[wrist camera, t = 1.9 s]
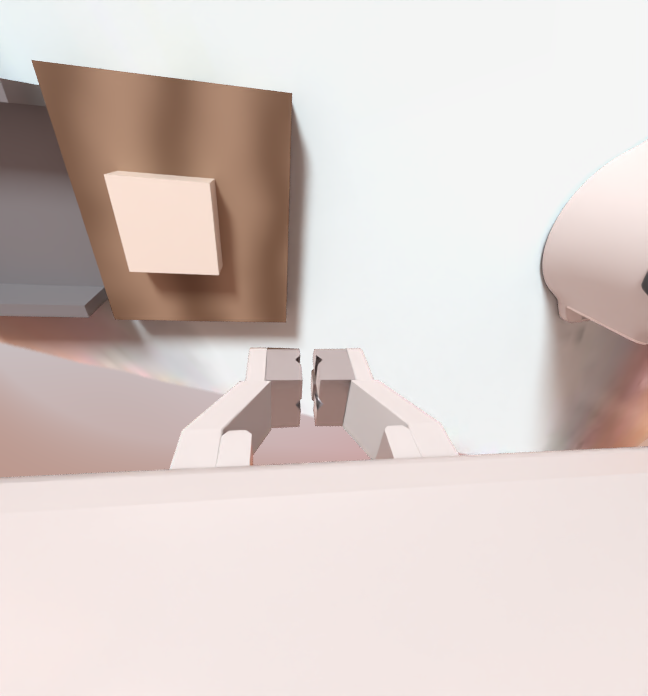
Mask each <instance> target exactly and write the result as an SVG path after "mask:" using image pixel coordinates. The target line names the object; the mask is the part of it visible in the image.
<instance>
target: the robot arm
mask: <svg viewBox="0 0 648 696" xmlns="http://www.w3.org/2000/svg"><path fill="white" fill-rule="evenodd" d="M542 269H543V276H544V280H545V282H546V284H547V286H548V288H549V289H550V290H551V291H552V293H553V294H554V295H555V296H556V298H557V300H558V310H559V315H560V317H561V318H562V319H564V320H566V321H568V322H570V323H575V322H582V321H588V320H592V321H594V322H596V323H598V324H600V325H602V326H604V327H605V328H607V329H609V330H611V331H613V332H615V333H617V334H619V335H621V336H623V337H625V338H627V339H629V340H631V341H633V342H635V343H638V344H642V345H647V344H648V139H647V140H646V141H644V142H643V143H641V144H640V145H638V146H636V147H634V148H632V149H631V150H629V151H627V152H625V153H623V154H621V155H620V156H618V157H616V158H615V159H613V160H612V161H610V162H609V163H607V164H606V165H605V166H603V167H602V168H601V169H599V170H598V171H597V172H596V173H595V174H593V175H592V176H591V177H590V178H589V179H588V180H587V181H586V182H585V183H584V184H583V185H582V186H581V187H580V188H579V189H578V190H577V191H576V193H575V194H574V195H573V196H572V197H571V199H570V200H569V201H568V202H567V204H566V205H565V207H564V208H563V209H562V211H561V213H560V214H559V216H558V218H557V219H556V221H555V223H554V225H553V227H552V229H551V231H550V233H549V236H548V239H547V242H546V245H545V249H544V253H543V261H542ZM313 367H314V369H313V370H312V372H311V396H312V400H313V401H314V407H313V412H314V419H315V426H343V428H344V429H345V430H346V431H347V433H348V434H349V435H350V436H351V437H352V438H353V439H354V440H355V442H356V443H357V444H358V445H359V446H360V447H361V448H362V449H363V451H364V452H365V453H366V454H367V455H368V456H369V457H370V458H371V460H353V461H332V462H312V463H291V464H273V465H272V464H271V465H253V455H254V453H255V452H256V450H257V449H258V447H259V446H260V445H261V443H262V442H263V440H264V439H265V438H266V436H267V435H268V434H269V432H270V431H271V428H282V427H298V426H299V424H300V412H301V409H300V400H301V398H302V368H301V364H300V350H299V349H297V348H250V349H249V355H248V363H247V371H246V379H245V381H240V382H239V383H237V384H236V385H235V386H234V387H233V388H232V389H230V390H229V391H228V392H227V393H226V394H224V395H223V396H222V397H221V398H220V399H219V400H217V401H216V402H215V403H214V404H213V405H211V406H210V407H209V408H208V409H207V410H206V411H205V412H203V413H202V414H201V415H200V416H199V417H197V418H196V419H195V420H194V421H193V422H191V423H190V424H189V425H188V426H187V427H186V428H184V429H183V430H182V432H181V436H180V438H179V441H178V444H177V448H176V450H175V453H174V457H173V460H172V463H171V466H170V469H167V470H147V471H146V470H145V471H127V472H126V471H125V472H104V473H85V474H84V473H83V474H63V475H42V476H23V477H21V476H20V477H0V696H648V446H644V447H624V448H603V449H582V450H561V451H540V452H519V453H499V454H480V455H460V456H459V455H458V453H457V451H456V449H455V447H454V446H453V444H452V442H451V440H450V438H449V437H448V435H447V433H446V431H445V429H444V428H443V426H442V424H441V423H440V422H439V421H437V420H436V419H434V418H433V417H431V416H430V415H429V414H427V413H426V412H424V411H423V410H421V409H420V408H418V407H417V406H416V405H414V404H413V403H411V402H410V401H408V400H407V399H405V398H404V397H403V396H401V395H400V394H398V393H397V392H395V391H394V390H392V389H391V388H390V387H388V386H387V385H385V384H384V383H382V382H381V381H379V380H374V378H373V376H372V373H371V371H370V368H369V366H368V363H367V361H366V358H365V355H364V353H363V350H362V349H361V348H345V349H314V352H313Z"/></svg>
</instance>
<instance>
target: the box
mask: <svg viewBox="0 0 648 696" xmlns="http://www.w3.org/2000/svg"><path fill="white" fill-rule="evenodd" d="M107 299H108V296H107V293H106V290H105V287H104V284H103V281H102V278H101V275H100V271H99V268H98V265H97V262H96V259H95V256H94V253H93V250H92V247H91V244H90V240H89V237H88V234H87V231H86V228H85V225H84V222H83V219H82V216H81V212H80V209H79V206H78V203H77V200H76V197H75V194H74V191H73V188H72V184H71V181H70V178H69V175H68V172H67V169H66V166H65V163H64V160H63V157H62V153H61V150H60V147H59V144H58V141H57V138H56V135H55V132H54V129H53V125H52V122H51V119H50V116H49V113H48V110H47V107H46V104H45V101H44V97H43V94H42V91H41V88H40V85H34V84H29V83H23V82H18V81H12V80H7V79H1V78H0V316H38V317H90V316H91V315H92V314H93V313H94V312H95V311H96V310H97V309H98V308H99V307H100V306H101V305H102V304H103V303H104V302H105V301H106V300H107Z"/></svg>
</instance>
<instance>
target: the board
mask: <svg viewBox="0 0 648 696" xmlns="http://www.w3.org/2000/svg"><path fill="white" fill-rule="evenodd" d="M32 63H33V66H34V70H35V73H36V76H37V79H38V82H39V85H40V88H41V91H42V94H43V97H44V101H45V104H46V107H47V110H48V113H49V116H50V119H51V122H52V125H53V129H54V132H55V135H56V138H57V141H58V144H59V147H60V150H61V153H62V157H63V160H64V163H65V166H66V169H67V172H68V175H69V178H70V181H71V184H72V188H73V191H74V194H75V197H76V200H77V203H78V206H79V209H80V212H81V216H82V219H83V222H84V225H85V228H86V231H87V234H88V237H89V240H90V244H91V247H92V250H93V253H94V256H95V259H96V262H97V265H98V268H99V271H100V275H101V278H102V281H103V284H104V287H105V290H106V293H107V296H108V299H109V303H110V306H111V309H112V312H113V315H114V318H115V319H119V320H177V321H234V322H286V302H287V264H288V225H289V187H290V149H291V110H292V93H285V92H278V91H270V90H262V89H254V88H246V87H238V86H230V85H223V84H215V83H207V82H199V81H191V80H183V79H175V78H168V77H160V76H152V75H144V74H136V73H128V72H120V71H113V70H105V69H97V68H89V67H81V66H73V65H66V64H58V63H50V62H42V61H34V60H32ZM115 171H127V172H139V173H151V174H163V175H175V176H187V177H199V178H211V179H215V187H216V198H217V209H218V219H219V230H220V241H221V252H222V263H223V266H222V269H221V271H220V274H219V275H201V274H175V273H149V272H130V271H129V268H128V264H127V260H126V256H125V253H124V249H123V245H122V241H121V238H120V234H119V230H118V226H117V223H116V219H115V215H114V211H113V208H112V204H111V200H110V196H109V193H108V189H107V185H106V181H105V177H104V174H107V173H111V172H115Z"/></svg>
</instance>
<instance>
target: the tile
mask: <svg viewBox="0 0 648 696" xmlns="http://www.w3.org/2000/svg"><path fill="white" fill-rule="evenodd" d="M104 177H105V181H106V185H107V189H108V193H109V196H110V200H111V204H112V208H113V211H114V215H115V219H116V223H117V226H118V230H119V234H120V238H121V241H122V245H123V249H124V253H125V256H126V260H127V264H128V268H129V271H130V272H149V273H175V274H201V275H219V274H220V271H221V269H222V266H223V263H222V252H221V241H220V230H219V219H218V209H217V198H216V187H215V179H211V178H199V177H187V176H175V175H163V174H151V173H139V172H127V171H115V172H111V173H107V174H104Z"/></svg>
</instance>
